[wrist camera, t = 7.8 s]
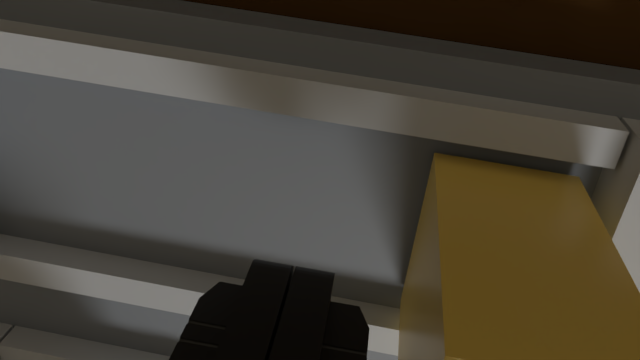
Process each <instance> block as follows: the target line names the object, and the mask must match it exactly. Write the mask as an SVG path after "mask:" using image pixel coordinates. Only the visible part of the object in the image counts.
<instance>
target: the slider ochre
mask: <svg viewBox="0 0 640 360" xmlns="http://www.w3.org/2000/svg"><path fill="white" fill-rule="evenodd" d="M398 360H640V292H639V291H638V289H637V287H636V285H635V283H634V281H633V279H632V277H631V275H630V273H629V271H628V270H627V268H626V266H625V264H624V262H623V260H622V258H621V256H620V254H619V252H618V250H617V249H616V247H615V245H614V243H613V241H612V239H611V237H610V235H609V233H608V231H607V229H606V228H605V226H604V224H603V222H602V220H601V218H600V216H599V214H598V212H597V210H596V208H595V207H594V205H593V203H592V201H591V199H590V197H589V195H588V193H587V191H586V189H585V187H584V186H583V184H582V182H581V180H580V178H579V177H578V176H572V175H566V174H560V173H554V172H548V171H542V170H536V169H530V168H524V167H518V166H512V165H506V164H500V163H494V162H488V161H482V160H476V159H470V158H464V157H458V156H452V155H446V154H440V153H434V156H433V161H432V165H431V169H430V174H429V178H428V183H427V187H426V191H425V196H424V200H423V204H422V209H421V213H420V218H419V222H418V226H417V231H416V235H415V239H414V244H413V248H412V252H411V257H410V261H409V266H408V270H407V274H406V279H405V283H404V287H403V292H402V296H401V301H400V324H399V347H398Z"/></svg>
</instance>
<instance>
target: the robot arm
mask: <svg viewBox="0 0 640 360" xmlns="http://www.w3.org/2000/svg"><path fill="white" fill-rule="evenodd" d="M334 277H335V273H333V272H327V271H322V270H316V269H310V268H305V267H299V266H296V267H295V270H294V266H292V265H287V264H281V263H275V262H270V261H264V260H259V259H254V260H253V261H252V263H251V266H250V268H249V271H248V273H247V276H246V278H245V281H244V283H243V285H237V284H231V283H226V282H218V283H217V284H216V285H215V286H213V287H212V288H211V289H210V290H208V291H207V292H206V293H205V294H203V295H202V296H201V297H200V298H199V299H198V301H197V304H196V306H195V308H194V310H193V312H192V314H191V316H190V318H189V321H188V324H186V326H185V328H184V330H183V332H182V334H181V336H180V340H179V342H177V344H176V346H175V348H174V350H173V352H172V354H171V356H170V358H169V360H367V351H368V340H369V326H368V324H367V322H366V320H365V318H364V315H363V313H362V311H361V309H360V306H355V305H349V304H344V303H338V302H332V301H331V296H332V290H333V284H334Z"/></svg>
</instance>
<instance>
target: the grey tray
mask: <svg viewBox="0 0 640 360" xmlns="http://www.w3.org/2000/svg"><path fill="white" fill-rule="evenodd" d="M434 153H440V154H446V155H452V156H458V157H464V158H470V159H476V160H482V161H488V162H494V163H500V164H506V165H512V166H518V167H524V168H530V169H536V170H542V171H548V172H554V173H560V174H566V175H572V176H578V177H579V178H580V180H581V182H582V184H583V186H584V187H585V189H586V191H587V193H588V195H589V197H590V199H591V201H592V203H593V205H594V207H595V208H596V210H597V212H598V214H599V216H600V218H601V220H602V222H603V224H604V226H605V228H606V229H607V231H608V233H609V235H610V237H611V239H612V241H613V243H614V245H615V247H616V249H617V250H618V252H619V254H620V256H621V258H622V260H623V262H624V264H625V266H626V268H627V270H628V271H629V273H630V275H631V277H632V279H633V281H634V283H635V285H636V287H637V289H638V291H639V292H640V70H636V69H630V68H623V67H616V66H610V65H603V64H597V63H590V62H584V61H577V60H570V59H564V58H557V57H551V56H544V55H538V54H531V53H524V52H518V51H511V50H505V49H498V48H491V47H485V46H478V45H472V44H465V43H459V42H452V41H445V40H439V39H432V38H426V37H419V36H413V35H406V34H399V33H393V32H386V31H380V30H373V29H366V28H360V27H353V26H347V25H340V24H334V23H327V22H320V21H314V20H307V19H301V18H294V17H288V16H281V15H274V14H268V13H261V12H255V11H248V10H242V9H235V8H228V7H222V6H215V5H209V4H202V3H195V2H189V1H182V0H0V360H169V358H170V356H171V354H172V352H173V350H174V348H175V346H176V344H177V342H179V340H180V336H181V334H182V332H183V330H184V328H185V326H186V324H188V321H189V318H190V316H191V314H192V312H193V310H194V308H195V306H196V304H197V301H198V299H199V298H200V297H201V296H202V295H203V294H205V293H206V292H207V291H208V290H210V289H211V288H212V287H213V286H215V285H216V284H217V283H218V282H226V283H231V284H237V285H243V283H244V281H245V278H246V276H247V273H248V271H249V268H250V266H251V263H252V261H253V260H254V259H259V260H264V261H270V262H275V263H281V264H287V265H292V266H294V270H295V267H296V266H299V267H305V268H310V269H316V270H322V271H327V272H333V273H335V277H334V284H333V290H332V296H331V301H332V302H338V303H344V304H349V305H355V306H360V309H361V311H362V313H363V315H364V318H365V320H366V322H367V324H368V326H369V340H368V351H367V360H398V347H399V324H400V301H401V296H402V292H403V287H404V283H405V279H406V274H407V270H408V266H409V261H410V257H411V252H412V248H413V244H414V239H415V235H416V231H417V226H418V222H419V218H420V213H421V209H422V204H423V200H424V196H425V191H426V187H427V183H428V178H429V174H430V169H431V165H432V161H433V156H434Z"/></svg>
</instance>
